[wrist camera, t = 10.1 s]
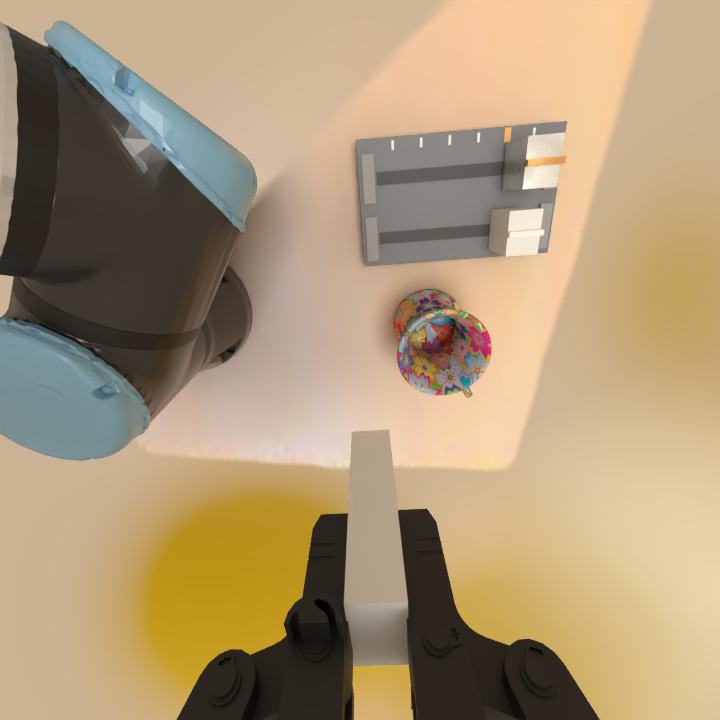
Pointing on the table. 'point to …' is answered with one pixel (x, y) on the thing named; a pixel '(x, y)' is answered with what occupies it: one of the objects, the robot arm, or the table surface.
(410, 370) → the mug
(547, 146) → the fader
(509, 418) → the table surface
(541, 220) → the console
